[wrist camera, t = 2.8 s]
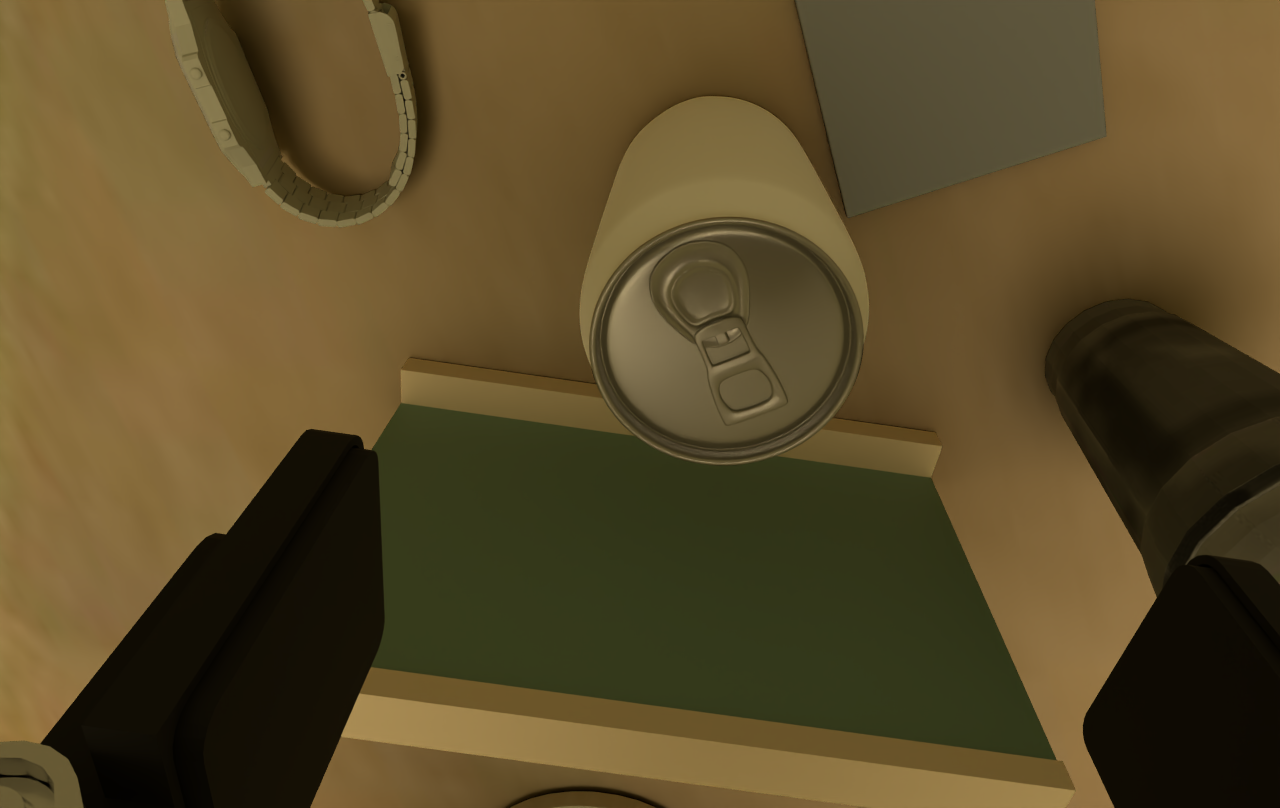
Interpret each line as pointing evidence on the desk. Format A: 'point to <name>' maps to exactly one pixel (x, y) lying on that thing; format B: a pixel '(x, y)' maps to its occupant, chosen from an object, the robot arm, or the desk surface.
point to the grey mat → (949, 89)
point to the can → (722, 289)
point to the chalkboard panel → (687, 607)
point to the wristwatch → (244, 117)
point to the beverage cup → (1173, 433)
